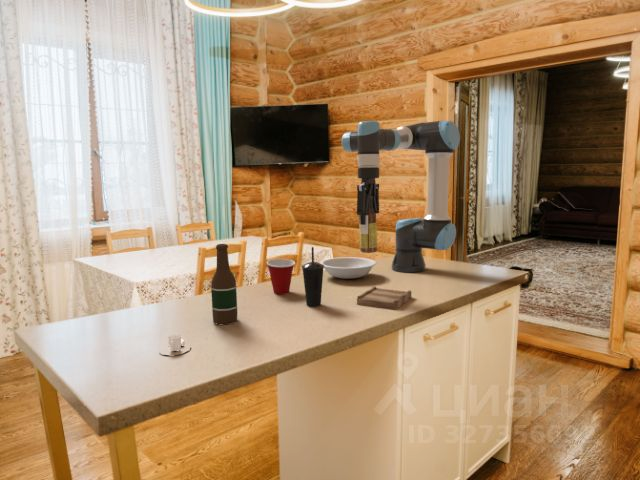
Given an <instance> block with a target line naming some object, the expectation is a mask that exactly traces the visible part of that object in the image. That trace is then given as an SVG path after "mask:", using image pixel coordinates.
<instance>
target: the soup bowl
mask: <svg viewBox="0 0 640 480" xmlns="http://www.w3.org/2000/svg"><path fill="white" fill-rule="evenodd" d="M319 263H320V264H323V265H324V268H323V269H324V270H325V271H326V272H327V274H329V275H330V276H332V277H334V278H337V279H344V280H345V279H346V280H347V279H349V280H351V279H358V278H362V277H364V276H366V275H367V274H369V273H370V272H371V270H372V269H373V267H374V266H376V265H377V261H376V260H373V259H371V258H366V257H356V256H353V257H352V256H346V257H345V256H342V257H341V256H339V257H331V258H327V259H323V260H320V261H319Z"/></svg>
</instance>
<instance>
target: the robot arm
mask: <svg viewBox="0 0 640 480" xmlns="http://www.w3.org/2000/svg"><path fill="white" fill-rule="evenodd" d="M380 126H381V125H380V122H379V121H377V120H365V121H359V123H358V125H357V131H347V132H345V133H344V134H343V135H342V137H341V146H342V149H343V150H344V151H345V152H349V153H355V152H357V158H356V160H357V166H358V168H357V178H358V179H361V180H360V181H361V182H360V184H357V185H356V191H357V198H356V214H357V215H356V216H359V215H360V234H368V215H367V210H368V202H369V197H370V196H373V200H372V207H373V210H374V212H375V214H376V215H377V214H380V193H379V192H380V191H379V189H380V184H379V183H376V179H379V178H380V168H379V166H380V151H388V152H390V151H395V150H397V149H399V150H412V151H413V150H415V151H424V154H425V156H426V157H427V158H428V170H427V200H426V201H427V202H426V203H427V205H426V206H427V207H426V214H425V216H424V217H423V218H422V217H416V218H415V217H414V218H412V217H411V218H406V219H399V220H397V221H396V224H395V253H394V256H393V260H392V262H391V270H392V271H395V272H400V273H420V272H424V271H426V267H427V266H426V265H427V264H426V263H425V257H424V255H423V252H422V251H423V249H427V250H428V249H429V250H436V251H447V250H449V249H450V248H451V247H452V246H453V244H454V243H455V239H456V237H457V228H456V225H455V224H454V223H452V218H451V217H450V216H449V215H448V213H449V209H448V208H449V186H450V158H451V157H452V156H453V155H454V151H455V150H456V149H457V148H458V147H459V146H460V145H459V144H460V142H461V141H460V140H461V136H460V130H459V128H458V126H457V124H456V123H455V122H454V121H451V120H437V121H425V122H417V123H413V124H410V125H405V126H403V125H402V126H400V127H397V128H394V129H392V128H381V127H380ZM360 234H359V235H360Z"/></svg>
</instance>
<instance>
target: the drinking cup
mask: <svg viewBox="0 0 640 480" xmlns="http://www.w3.org/2000/svg"><path fill="white" fill-rule="evenodd" d="M314 251H315V250H314V246H311V261H310V262H306V263H305V264H302V265H301V269H302V274H303V284H304V295H305V301H306V304H305V305H306V306H307V307H309V308H314V307H315V308H317V307H320V306H321V303H322V292H323V290H322V289H323V279H324V278H323V277H324V269H325V268H324V265H323V264H320V262H316V261H315V256H314V255H315V252H314Z"/></svg>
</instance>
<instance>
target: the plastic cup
mask: <svg viewBox="0 0 640 480" xmlns="http://www.w3.org/2000/svg"><path fill="white" fill-rule="evenodd" d="M266 265H267V268H268V271H269V276H270V282H271V286H272V291H273V293H274V294H276V295H286V294H289V292H290V289H291V282H292V277H293V276H292V275H293V270H294V266H295V265H296V261H294V260H292V259H287V258H273V259H269V260H267V261H266Z"/></svg>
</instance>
